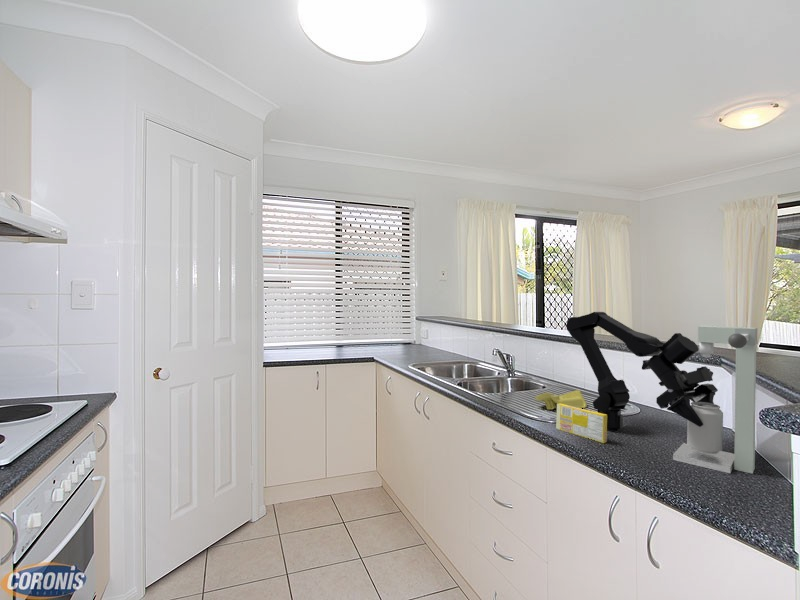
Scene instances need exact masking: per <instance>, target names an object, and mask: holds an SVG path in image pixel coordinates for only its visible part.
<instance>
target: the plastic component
mask: <svg viewBox="0 0 800 600" xmlns="http://www.w3.org/2000/svg"><path fill="white" fill-rule="evenodd" d="M534 398H535V400H536V401H537V402H544V404H545V407H546V410H553V409H557V404H559V403H561V404H565V405H569V406H573V407H577V408H581V409H582V408H583V409H586V408H587V406H588V405H587V402H586V399H585V398H584V395H583V394H582V391H580V390H577V389H576V390H573V391H570V392H566V393H564V394H560V395H558V394H556V395H555V394H552V393H550V392H544V393H540V394H538V395H536V396H535V397H534ZM585 407H586V408H585Z"/></svg>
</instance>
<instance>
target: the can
mask: <svg viewBox="0 0 800 600" xmlns="http://www.w3.org/2000/svg"><path fill="white" fill-rule="evenodd" d="M690 405H691V407H692V408H693V409H694V411H695V412H696V414H697V415H698V417H699V418H700V420H701V421H702V423H703V425H702V426H701V427H699V426H697V425H696V424H694V423H692V422H690V421H689V420H687V425H686V426H687V427H686V428H687V429H686V431H687V432H686V444H688V445H689V446H690V447H691V448H692V449H693V450H696V451H699V452H702V453H708V454H717V453H718V452H720V451H723V440H724V439H723V434H724V432H723V431H724V412H723V411H722V410H721V406H720V405H718V404H715V403H714V404H712V403H706V402H693V401H691V402H690Z"/></svg>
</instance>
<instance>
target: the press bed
mask: <svg viewBox="0 0 800 600" xmlns="http://www.w3.org/2000/svg"><path fill="white" fill-rule="evenodd" d="M672 458H673V459H672V460H673V461H677V462H681V463H685V464H689V465H692V466H693V465H694V466H697V467H701V468H706V469H710V470H715V471H718V472H722V473H726V474H731V473H732V471H733V470H734V453H732V452H727V451H723V450H722V451H720V452H718V453H717V454H708V453H702V452H699V451H696V450H693V449H692V448H691V447H690V446H689V445H688V444H687V442H686V443H685V442H683V443H682V444H681V445H680V446H679V447H678V448H677V449H676V450H675V451H674V452H673V455H672Z"/></svg>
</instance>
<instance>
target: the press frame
mask: <svg viewBox="0 0 800 600" xmlns="http://www.w3.org/2000/svg"><path fill="white" fill-rule="evenodd" d="M697 342H698V343H699V344H698V345H699V346H698V351H699V354H701V357H703V358H711V357H712V355H714V350H715V349H714V347H715V344H724V345H725V344H726V345H727V344H729V346H731V347H732V348H734V349H735V373H734V374H735V377H734V378H735V379H734V380H735V390H734V392H735V393H734V394H735V395H734V397H735V398H734V451H733V452H734V453H733V454H734V467H733V470H735V471H739V472H744V473H748V474H752V475H753V474H754V471H755V464H756V400H757V399H756V398H757V397H756V396H757V395H756V393H757V392H756V390H757V389H756V388H757V387H756V386H757V385H756V383H757V382H756V381H757V345H758V327H743V326H741V327H740V326H720V325H717V326H714V325H698V326H697Z"/></svg>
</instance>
